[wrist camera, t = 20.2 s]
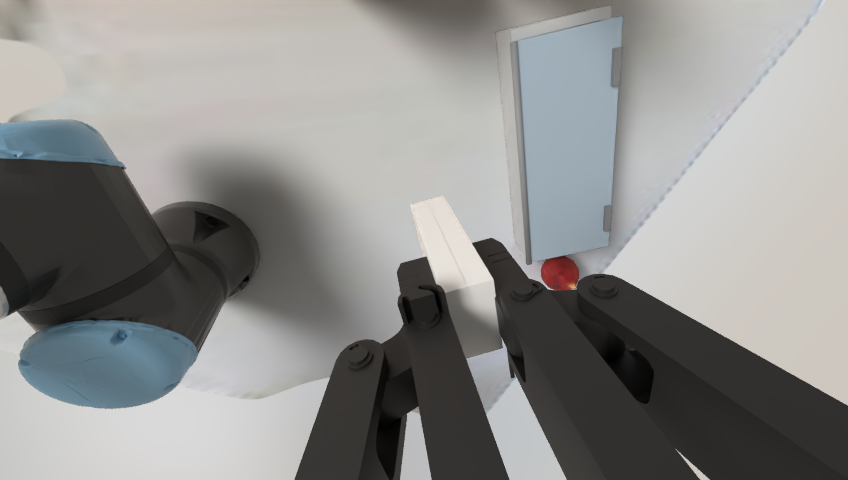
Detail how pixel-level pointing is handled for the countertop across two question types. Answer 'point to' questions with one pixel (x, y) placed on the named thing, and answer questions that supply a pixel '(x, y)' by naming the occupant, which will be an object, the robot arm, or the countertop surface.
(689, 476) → the robot arm
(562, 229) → the cover
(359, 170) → the countertop surface
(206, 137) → the countertop surface
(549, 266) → the onion
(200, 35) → the countertop surface
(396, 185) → the countertop surface
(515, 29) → the grey tray
